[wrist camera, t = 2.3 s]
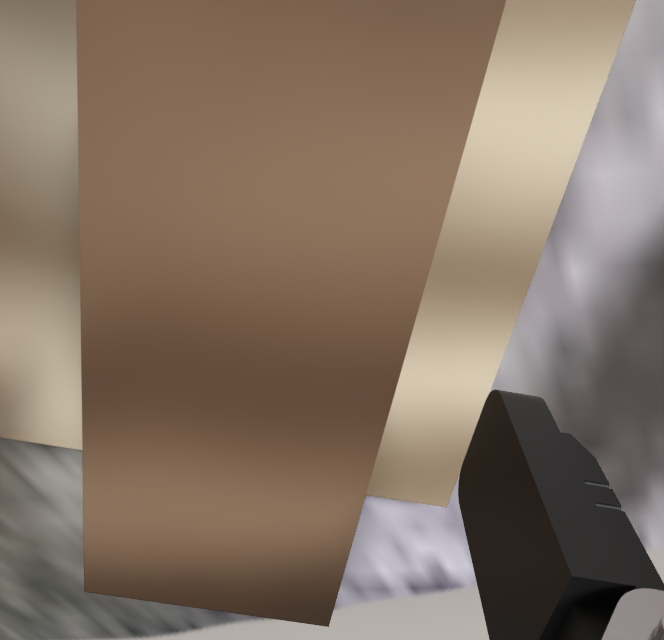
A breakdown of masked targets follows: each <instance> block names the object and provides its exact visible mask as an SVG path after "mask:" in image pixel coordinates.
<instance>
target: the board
mask: <svg viewBox="0 0 664 640" xmlns="http://www.w3.org/2000/svg"><path fill="white" fill-rule="evenodd" d="M635 2H636V0H506V3H505V7H504V11H503V14H502V18H501V21H500V25H499V28H498V32H497V35H496V39H495V42H494V46H493V49H492V53H491V56H490V60H489V63H488V67H487V70H486V74H485V77H484V81H483V84H482V88H481V92H480V95H479V99H478V102H477V106H476V109H475V113H474V116H473V120H472V123H471V127H470V130H469V134H468V137H467V141H466V144H465V148H464V151H463V155H462V158H461V162H460V165H459V169H458V172H457V176H456V180H455V183H454V187H453V190H452V194H451V197H450V201H449V204H448V208H447V211H446V215H445V218H444V222H443V225H442V229H441V232H440V236H439V239H438V243H437V246H436V250H435V253H434V257H433V261H432V264H431V268H430V271H429V275H428V278H427V282H426V285H425V289H424V292H423V296H422V299H421V303H420V306H419V310H418V313H417V317H416V320H415V324H414V327H413V331H412V334H411V338H410V342H409V345H408V349H407V352H406V356H405V359H404V363H403V366H402V370H401V373H400V377H399V380H398V384H397V387H396V391H395V394H394V398H393V401H392V405H391V408H390V412H389V415H388V419H387V423H386V426H385V430H384V433H383V437H382V440H381V444H380V447H379V451H378V454H377V458H376V461H375V465H374V468H373V472H372V475H371V479H370V482H369V486H368V489H367V493H366V495H371V496H377V497H384V498H390V499H397V500H403V501H409V502H416V503H422V504H428V505H435V506H441V507H447V505H448V503H449V500H450V497H451V494H452V492H453V489H454V486H455V484H456V481H457V478H458V476H459V473H460V470H461V467H462V464H463V461H464V458H465V455H466V453H467V450H468V447H469V444H470V442H471V439H472V436H473V433H474V431H475V428H476V425H477V422H478V420H479V417H480V414H481V412H482V409H483V406H484V403H485V401H486V399H487V397H488V395H489V393H490V390H491V388H492V385H493V382H494V380H495V377H496V374H497V371H498V369H499V366H500V363H501V361H502V358H503V355H504V353H505V350H506V347H507V345H508V342H509V339H510V337H511V334H512V331H513V329H514V326H515V323H516V321H517V318H518V315H519V313H520V310H521V307H522V305H523V302H524V299H525V297H526V294H527V291H528V289H529V286H530V283H531V281H532V278H533V275H534V273H535V270H536V267H537V265H538V262H539V259H540V257H541V254H542V251H543V248H544V246H545V243H546V240H547V238H548V235H549V232H550V230H551V227H552V224H553V222H554V219H555V216H556V214H557V211H558V208H559V206H560V203H561V200H562V198H563V195H564V192H565V190H566V187H567V184H568V182H569V179H570V176H571V174H572V171H573V168H574V166H575V163H576V160H577V158H578V155H579V152H580V150H581V147H582V144H583V142H584V139H585V136H586V134H587V131H588V128H589V125H590V123H591V120H592V117H593V115H594V112H595V109H596V107H597V104H598V101H599V99H600V96H601V93H602V91H603V88H604V85H605V83H606V80H607V77H608V75H609V72H610V69H611V67H612V64H613V61H614V59H615V56H616V53H617V51H618V48H619V45H620V43H621V40H622V37H623V35H624V32H625V29H626V27H627V24H628V21H629V19H630V16H631V13H632V11H633V8H634V5H635ZM0 437H1V438H8V439H14V440H20V441H27V442H33V443H40V444H46V445H52V446H59V447H65V448H71V449H78V450H82V381H81V310H80V240H79V169H78V98H77V28H76V0H0Z"/></svg>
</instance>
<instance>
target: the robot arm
mask: <svg viewBox="0 0 664 640" xmlns="http://www.w3.org/2000/svg"><path fill="white" fill-rule="evenodd" d="M458 496H459V504H460V509H461V514H462V518H463V522H464V527H465V531H466V536H467V540H468V545H469V549H470V554H471V558H472V563H473V567H474V572H475V576H476V581H477V585H478V589H479V593H480V598H481V602H482V607H483V612H484V616H485V621H486V625H487V630H488V634H489V639H490V640H664V583H663V582H662V580H661V578H660V576H659V574H658V573H657V571H656V569H655V567H654V565H653V563H652V561H651V560H650V558H649V556H648V554H647V552H646V550H645V549H644V547H643V545H642V543H641V541H640V539H639V537H638V536H637V534H636V532H635V530H634V528H633V526H632V525H631V523H630V521H629V519H628V517H627V515H626V514H625V512H622V511H621V504H620V503H619V501H618V499H617V497H616V495H615V493H614V492H613V490H612V489H609V482H608V481H607V479H606V477H605V475H604V473H603V471H602V470H601V468H600V466H599V464H598V462H597V460H596V459H595V457H593V456H592V455H591V454H590V453H589V452H588V451H587V450H586V449H585V448H584V447H583V446H582V445H581V444H580V443H579V442H578V441H577V440H576V439H575V438H574V437H573V436H572V435H571V434H567V433H561V432H560V431H559V429H558V427H557V425H556V423H555V421H554V419H553V417H552V415H551V413H550V411H549V409H548V407H547V405H546V403H545V401H544V400H543V399H542V398H540V397H535V396H529V395H523V394H518V393H512V392H506V391H500V390H493V391H492V392H490V394H489V395H488V397H487V399H486V401H485V403H484V406H483V409H482V412H481V414H480V417H479V420H478V422H477V425H476V428H475V431H474V433H473V436H472V439H471V442H470V444H469V447H468V450H467V453H466V455H465V458H464V461H463V464H462V467H461V471H460V477H459V487H458Z"/></svg>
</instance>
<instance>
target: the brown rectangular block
mask: <svg viewBox="0 0 664 640" xmlns="http://www.w3.org/2000/svg"><path fill="white" fill-rule="evenodd" d="M505 3H506V0H76V28H77V98H78V169H79V240H80V310H81V381H82V451H83V522H84V592H89V593H96V594H103V595H110V596H117V597H124V598H131V599H138V600H145V601H152V602H159V603H166V604H173V605H180V606H187V607H194V608H201V609H208V610H215V611H222V612H229V613H236V614H243V615H250V616H257V617H264V618H271V619H278V620H286V621H292V622H299V623H307V624H314V625H321V626H329V623H330V620H331V616H332V613H333V609H334V606H335V602H336V599H337V595H338V592H339V588H340V585H341V581H342V577H343V574H344V570H345V567H346V563H347V560H348V556H349V553H350V549H351V546H352V542H353V539H354V535H355V532H356V528H357V525H358V521H359V518H360V514H361V511H362V507H363V504H364V500H365V496H366V493H367V489H368V486H369V482H370V479H371V475H372V472H373V468H374V465H375V461H376V458H377V454H378V451H379V447H380V444H381V440H382V437H383V433H384V430H385V426H386V423H387V419H388V415H389V412H390V408H391V405H392V401H393V398H394V394H395V391H396V387H397V384H398V380H399V377H400V373H401V370H402V366H403V363H404V359H405V356H406V352H407V349H408V345H409V342H410V338H411V334H412V331H413V327H414V324H415V320H416V317H417V313H418V310H419V306H420V303H421V299H422V296H423V292H424V289H425V285H426V282H427V278H428V275H429V271H430V268H431V264H432V261H433V257H434V253H435V250H436V246H437V243H438V239H439V236H440V232H441V229H442V225H443V222H444V218H445V215H446V211H447V208H448V204H449V201H450V197H451V194H452V190H453V187H454V183H455V180H456V176H457V172H458V169H459V165H460V162H461V158H462V155H463V151H464V148H465V144H466V141H467V137H468V134H469V130H470V127H471V123H472V120H473V116H474V113H475V109H476V106H477V102H478V99H479V95H480V92H481V88H482V84H483V81H484V77H485V74H486V70H487V67H488V63H489V60H490V56H491V53H492V49H493V46H494V42H495V39H496V35H497V32H498V28H499V25H500V21H501V18H502V14H503V11H504V7H505Z"/></svg>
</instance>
